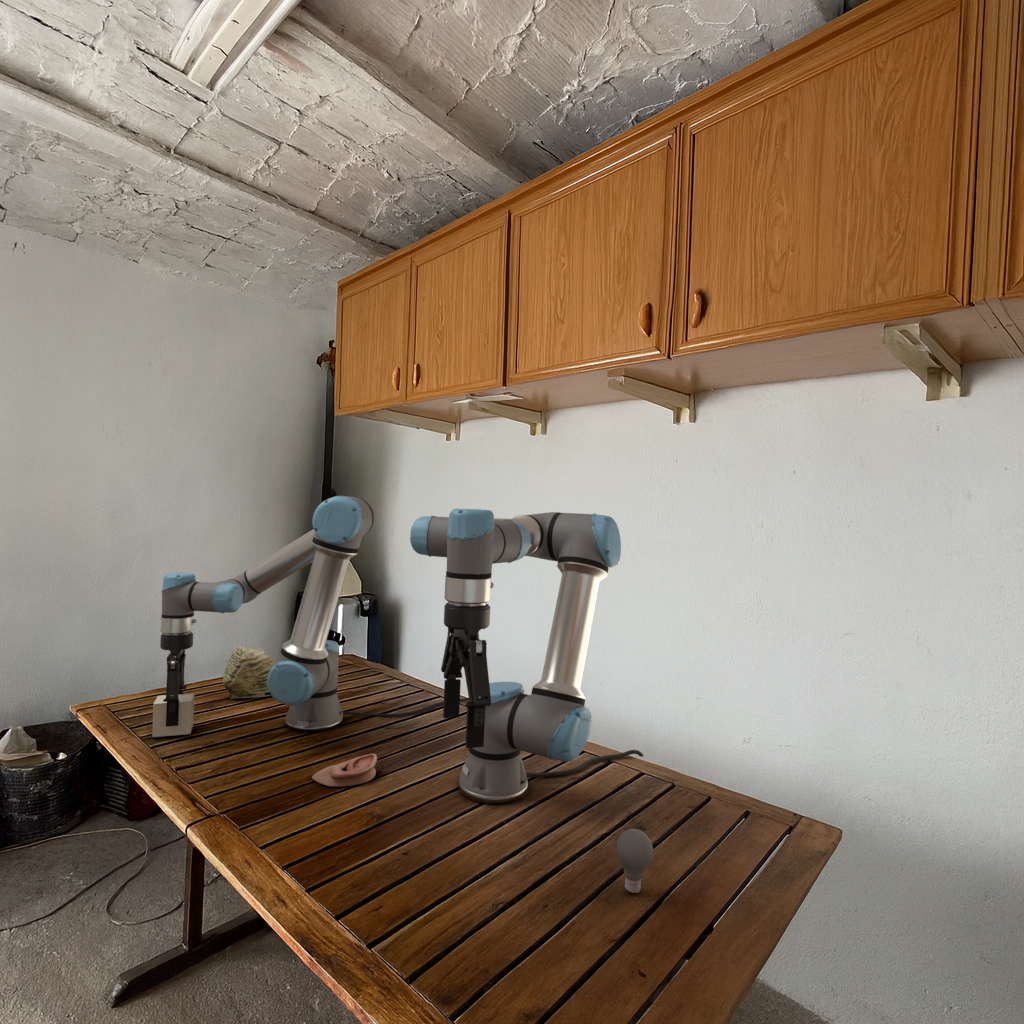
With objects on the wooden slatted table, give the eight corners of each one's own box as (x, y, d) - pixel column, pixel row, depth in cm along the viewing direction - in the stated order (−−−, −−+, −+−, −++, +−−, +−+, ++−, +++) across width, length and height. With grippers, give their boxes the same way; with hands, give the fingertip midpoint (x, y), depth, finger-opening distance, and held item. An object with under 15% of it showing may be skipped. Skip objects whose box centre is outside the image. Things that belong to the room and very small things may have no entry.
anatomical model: (305, 765, 139) (330, 745, 150) (304, 783, 139) (330, 762, 151) (361, 773, 137) (383, 752, 148) (360, 791, 137) (382, 769, 148)
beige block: (152, 737, 160) (153, 703, 160) (156, 727, 166) (157, 695, 166) (190, 734, 163) (191, 701, 163) (193, 724, 169) (194, 693, 169)
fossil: (218, 695, 195) (220, 647, 195) (278, 685, 208) (279, 640, 207) (228, 703, 189) (230, 653, 188) (289, 692, 201) (290, 645, 201)
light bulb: (610, 879, 108) (613, 822, 108) (644, 879, 109) (647, 822, 109) (619, 902, 102) (622, 840, 102) (655, 901, 103) (658, 840, 103)
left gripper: (188, 640, 156) (185, 732, 157) (197, 624, 175) (194, 706, 175) (154, 641, 153) (151, 735, 154) (166, 625, 172) (164, 708, 173)
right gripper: (516, 616, 94) (510, 758, 94) (467, 591, 117) (462, 705, 117) (467, 617, 91) (461, 764, 91) (427, 591, 114) (422, 708, 115)
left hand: (174, 720), depth 165 cm, fingers open, 7 cm apart
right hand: (462, 731), depth 104 cm, fingers open, 13 cm apart
